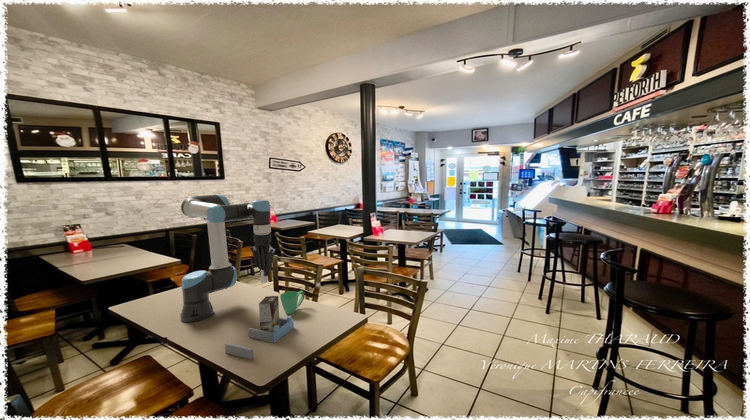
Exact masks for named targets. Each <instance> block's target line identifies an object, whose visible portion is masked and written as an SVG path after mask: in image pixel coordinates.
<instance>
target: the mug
mask: <svg viewBox="0 0 750 420" xmlns="http://www.w3.org/2000/svg"><path fill="white" fill-rule="evenodd" d="M300 295H301V297H300V298H299V296H300ZM279 298H280V302H281V306H282V309H283V310H284V313H285V314H286V315H292V314H294V313H295V312H296V310H297V309H298V308H299V307H300V305H302V303H303V302H304V299H305V292H304V291H303V290H300V291H289V290H288V291H285V292H282V293H281V294H279Z"/></svg>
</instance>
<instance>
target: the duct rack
mask: <svg viewBox="0 0 750 420" xmlns="http://www.w3.org/2000/svg"><path fill="white" fill-rule="evenodd" d="M292 317H293V316H292V315H288V316H287V317H286V318H285V317H280V316H279V323H280V327H279V325H276V326H274V333H273V332H268V331H263V330H260V329H257V328H254V327H253V328H252V327H249V328H248V338H252V339H257V340H259V341H264V342H270V343H274V344H275V343H276V342H278V341H279V340H280V339H282V338H283V337H284V336H285V335H286V334H288V333H289V332H290V331H292V330H293V329H294V328H295V326H294V325H295V324H294V323H295V321H294V319H292ZM224 348H225V349H224V351H225V354H228V355H232V356H236V357H240V358H243V359H247V360H253V359H255V358H254V355H255V354H254V348H251V347H247V346H242V345H238V344H233V343H230V342H225V343H224Z"/></svg>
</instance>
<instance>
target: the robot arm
mask: <svg viewBox="0 0 750 420" xmlns="http://www.w3.org/2000/svg"><path fill="white" fill-rule="evenodd" d="M180 210H181V212H182V214H183V215H184V216H185V217H188V218H202V219H203V221H204V222H206V224H207V234H208V245H209V253H210V261H211V263H210V264H211V265H210V266H209V267H208V271H207V270H196V271H192V272H190V273H188V274H186V275H184V276H183V277H182V279H181V288H182V291H181V292H182V302H183V304H182V309H181V313H180V318H179V319H180V321H181V322H184V323H194V322H199V321H203V320H206V319H208V318H210V317H211V316H212V315H213V314H214V307H213V305H212V303H211V301H210V299H209V295H210V294H212V293H216V292H219V291H223V290H227V289H229V288H232V287H234V286H235V285H236V283H237V281H238V271H237V269H236V267H235V266H233V265H232V263H231V262H230V261H229V255H228V244H227V234H226V226H225V224H226V222H234V221H245V220H252V225H253V242H254V246H252V247H250V251H251V253H252V259H253V261H254V265H255V268H258V270H259V277H260V283H261V284H262V285H264V284H265V283H268V282H269V280H268V278H269V277H268V276H269V269H272V268H273V263H274V256H275V252H276V251H277V249H276V248H273V247H272V243H271V242H272V233H271V232H272V229H271V228H272V224H271V204H270V201H269V200H268V199H255V200H253V201H252V202H242V203H237V204H236V203H235V204H230V201H229V199H228V198H227V197H226V196H225V195H224V194H207V195H205V194H204V195H193V196H189V197H188V198H186V199H184V200H183V201H182V202H181V204H180Z"/></svg>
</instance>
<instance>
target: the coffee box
mask: <svg viewBox="0 0 750 420" xmlns="http://www.w3.org/2000/svg"><path fill="white" fill-rule="evenodd" d="M279 301H280V300H279V295H270V296H269V295H267V296H265V297H264V298H262V299H261V301H260V302H259V303H258V311H259V330H263V331H268V332H273V333H274V326H276V325H279V328H281V326H280V323H279V317H280V306H279V305H280V302H279Z"/></svg>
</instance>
